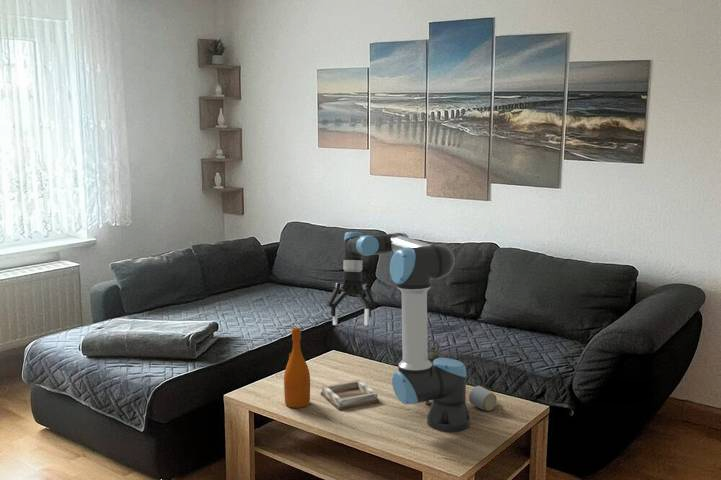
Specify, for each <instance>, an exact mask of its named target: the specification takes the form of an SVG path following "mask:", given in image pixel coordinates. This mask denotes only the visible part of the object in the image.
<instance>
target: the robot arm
mask: <svg viewBox="0 0 721 480" xmlns="http://www.w3.org/2000/svg"><path fill="white" fill-rule="evenodd" d="M343 239H344V240H343V263H342V265H343V266H342V269H343V272H342V283H340V282H336V283H335V284H334V288H333V290H332V293H331V295H330V297H329V299H328V301H327V302H326V306H327V307H329V308H330V316H331V317H332V325H333V326H338V315H339V314H338V313H339V310H338V309H339V308H337V306H338V305H339V304H340V303H341V302H342V300H344V298H345V297H346V296H347V295H349V296H357V297H358V298H359V300H360V302H362V303H363V305H364V307H365V308H364V317H363V318H364V319H363V320H364V322H363V325H364V326H366V327H367V326H370V318H371V317H372V310H373V308H376V303H375V301H374V297H373V295H372V292H371V290H370V284H368V283H365V284H363V283H362V281H363V273H362V271H363V257H365V256H366V257H367V256H372V255H374V256H375V255H383V254H392V256H391V258H390V262H389V275H390V277H391V278H390V279H391V280H392V282H393V283H394V284H396V288H397V289H398V290H399V291H400V292H401V329H402V330H401V337H402V338H401V339H402V340H401V341H402V342H401V343H402V344H401V345H402V347H401V349H402V360H401V361H400V362H398V368H397V369H398V370H396V371H395V372H393V374H392V376H391V385H392V389H393V391H394V394H395V396H396V398H397V399H398V401H400V402H401V403H402V404H404V405H416V404H418V403H419V404H420V403H423V402H425V401H429V402H430V401H432V402H431V405H430V408H429V411H428V414H427V417H426V418H427V421H426V423H427V425H428V426H429V427H430V428H432V429H434V430H437V431H440V432H451V433H452V432H461V431H464V430H466V429H467V428H469V427H470V425H471V417H470V414H469V411H468V410H469V409H468V407H467V404H466V401H467V399H466V398H467V397H466V396H467V395H466V393H467V377H468V376H467V367H466V365H465V364H464V363H463V362H462V361H460V360H458V359H454V358H448V357H444V358H437V359H435V360H434V361H433V366H432V363H431V362H430V361H429V360H428V353H429V352H428V294H427V293H428V291H429V290H430V289H431V288H432V280H439V279H442V278H445V277H446V276H448V275H449V274H450V273H451V272H452V271H453V269H454V267H455V263H456V259H455V255H454V253H453V251H452V250H451V249H450V247H448V246H446V245H443V244H439V243H433V244H429V243H428V242H427V243H426V242H424V241H420V240H417V239H413V238H410V237H409V236H408V234H407V233H404V232H394V233H387V234H386V233H385V234H371V235H364V233H362V232H358V231H347V232H345V233H344V237H343ZM341 288H342V291H341V292H340V289H341ZM362 289H363V291H364V294H365V295H364V294H363V292H362ZM339 293H340V294H339ZM338 294H339V295H338ZM337 296H338V297H337ZM365 296H366V297H365Z"/></svg>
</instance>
